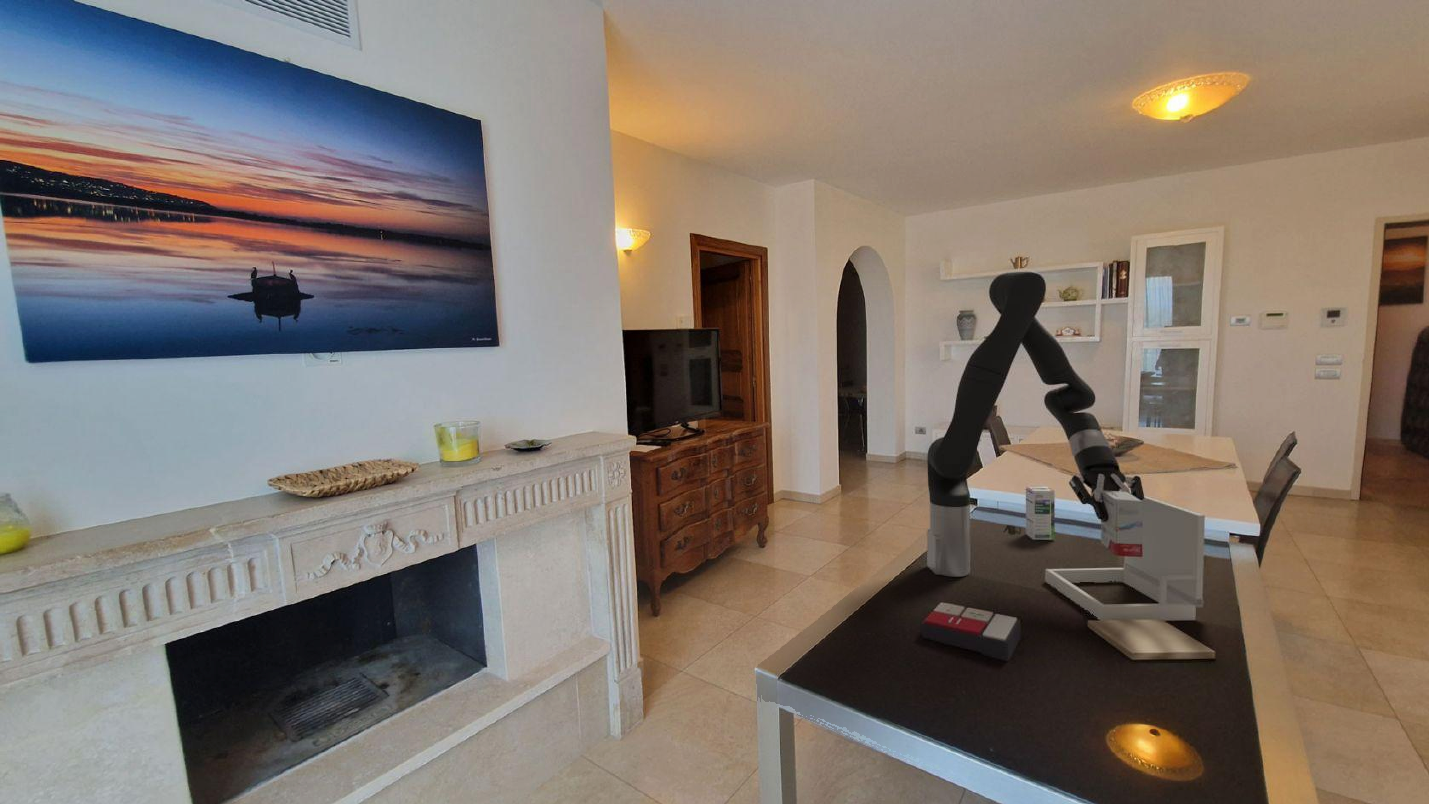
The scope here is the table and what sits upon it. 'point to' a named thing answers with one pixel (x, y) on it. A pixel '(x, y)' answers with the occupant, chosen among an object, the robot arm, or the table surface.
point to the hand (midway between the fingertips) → (1121, 520)
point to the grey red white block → (973, 630)
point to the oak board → (1150, 639)
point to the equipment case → (1150, 569)
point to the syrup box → (1040, 513)
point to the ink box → (1122, 524)
